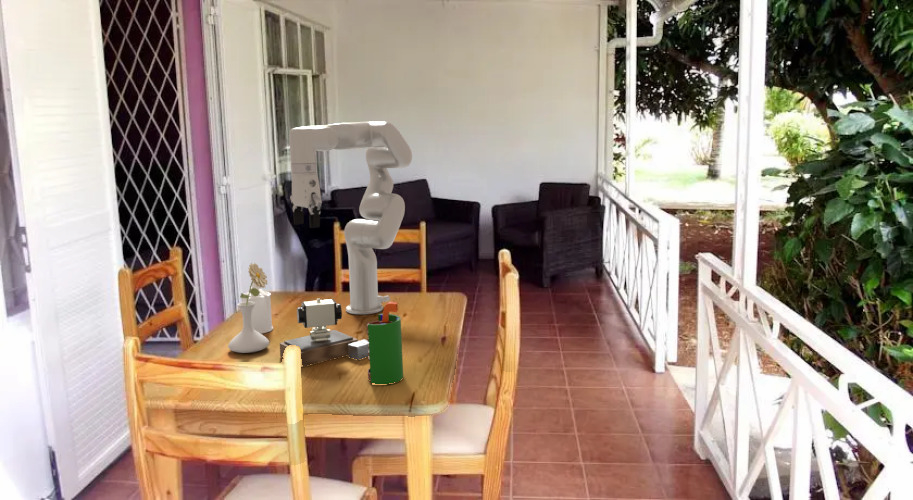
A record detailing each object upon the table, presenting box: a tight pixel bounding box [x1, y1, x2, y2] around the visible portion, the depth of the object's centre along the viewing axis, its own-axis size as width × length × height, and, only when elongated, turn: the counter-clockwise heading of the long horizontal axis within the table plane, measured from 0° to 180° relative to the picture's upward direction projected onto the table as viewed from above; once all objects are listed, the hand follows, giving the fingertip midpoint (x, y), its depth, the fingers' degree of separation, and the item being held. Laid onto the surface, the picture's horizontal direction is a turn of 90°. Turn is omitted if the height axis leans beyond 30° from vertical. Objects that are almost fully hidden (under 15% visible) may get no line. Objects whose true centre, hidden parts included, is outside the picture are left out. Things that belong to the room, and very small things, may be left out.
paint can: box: [239, 281, 274, 335], centre depth 228 cm, size 10×9×20 cm
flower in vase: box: [227, 262, 270, 354], centre depth 209 cm, size 13×11×25 cm
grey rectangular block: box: [347, 339, 369, 361], centre depth 203 cm, size 6×4×4 cm, turn 139°
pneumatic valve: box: [296, 297, 343, 342], centre depth 203 cm, size 6×12×12 cm, turn 109°
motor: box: [366, 301, 404, 384], centre depth 185 cm, size 10×9×20 cm
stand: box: [279, 329, 359, 368], centre depth 205 cm, size 18×12×5 cm, turn 130°
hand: (306, 225), depth 222 cm, fingers open, 9 cm apart
